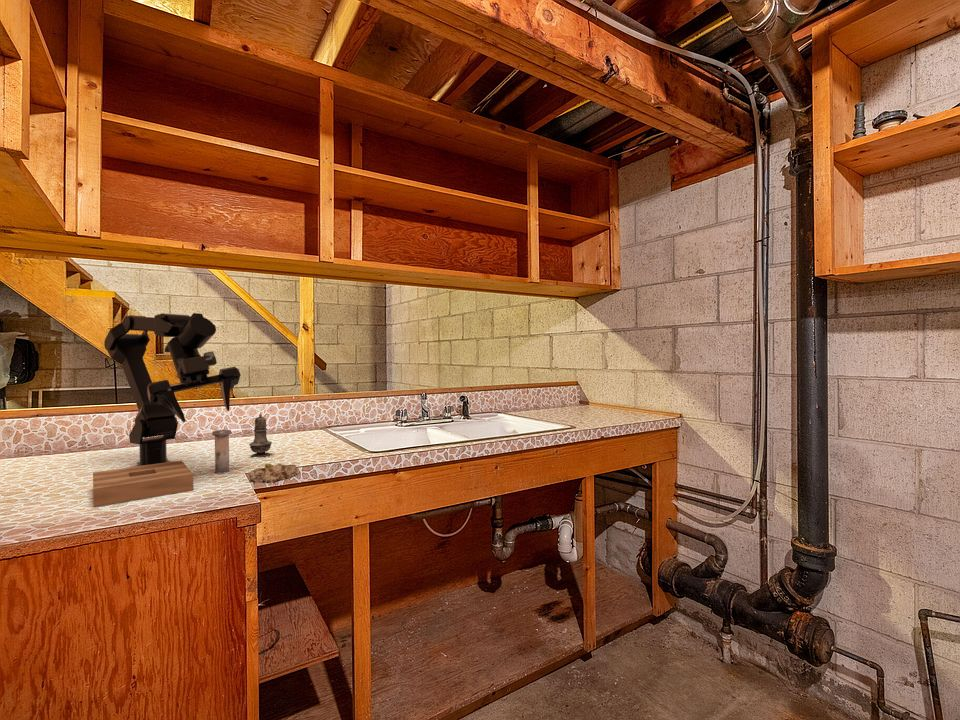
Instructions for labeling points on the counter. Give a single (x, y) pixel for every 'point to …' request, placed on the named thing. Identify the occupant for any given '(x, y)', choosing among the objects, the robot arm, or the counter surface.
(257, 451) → the salt shaker
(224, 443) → the pin
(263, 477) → the mineral rock
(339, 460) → the counter surface
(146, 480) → the socket block
